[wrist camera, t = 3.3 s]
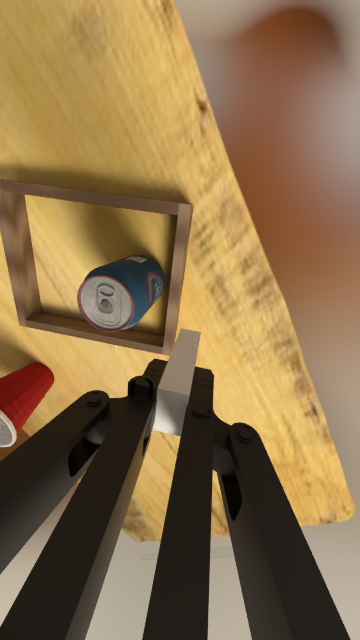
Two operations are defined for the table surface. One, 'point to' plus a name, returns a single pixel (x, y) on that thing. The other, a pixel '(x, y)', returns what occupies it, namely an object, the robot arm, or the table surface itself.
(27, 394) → the plastic cup
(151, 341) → the walnut tray frame
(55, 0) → the table surface
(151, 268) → the soda can
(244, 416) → the table surface
